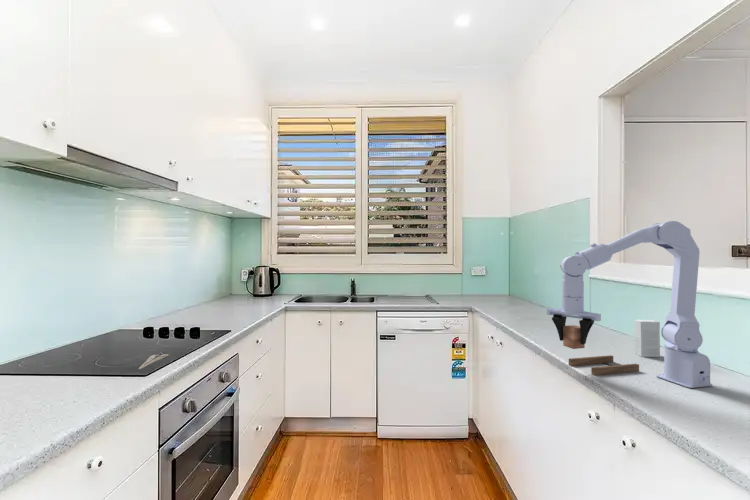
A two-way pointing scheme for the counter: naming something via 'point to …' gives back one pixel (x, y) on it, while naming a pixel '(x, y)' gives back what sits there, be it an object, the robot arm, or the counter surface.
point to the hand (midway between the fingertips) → (572, 341)
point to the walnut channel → (603, 370)
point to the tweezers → (153, 360)
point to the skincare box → (647, 338)
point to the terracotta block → (572, 337)
